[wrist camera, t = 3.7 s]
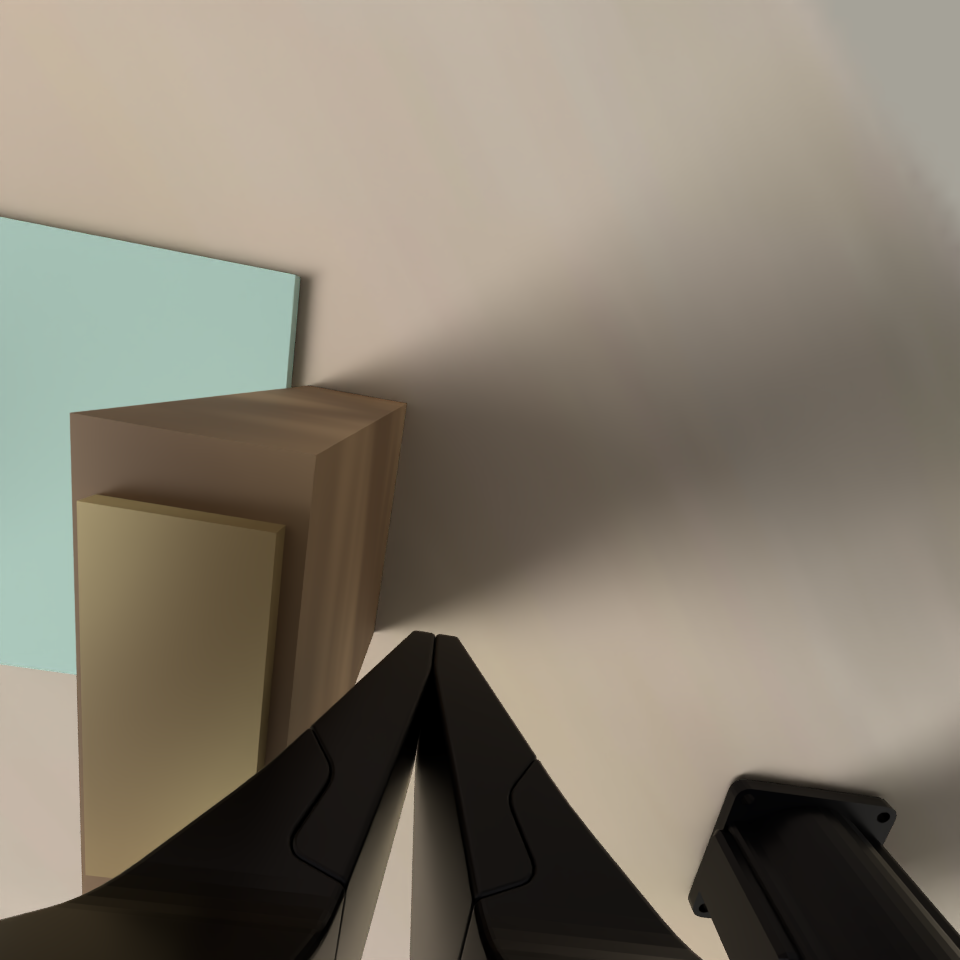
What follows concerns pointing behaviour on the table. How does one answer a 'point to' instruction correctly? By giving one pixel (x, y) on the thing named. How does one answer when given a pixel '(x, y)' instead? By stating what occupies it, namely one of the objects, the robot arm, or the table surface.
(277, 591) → the menu stand
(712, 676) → the table surface
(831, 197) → the table surface
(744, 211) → the table surface
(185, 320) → the mat
